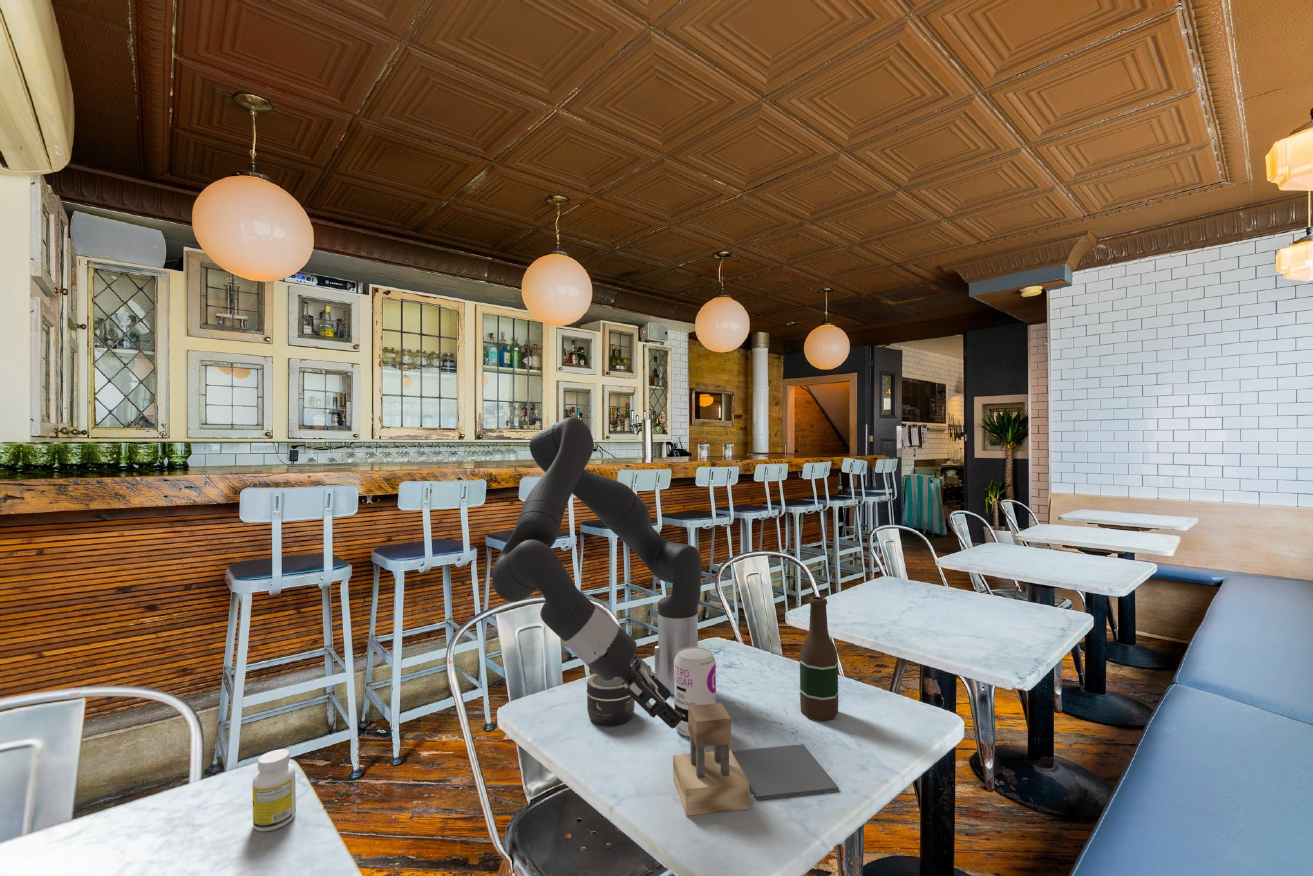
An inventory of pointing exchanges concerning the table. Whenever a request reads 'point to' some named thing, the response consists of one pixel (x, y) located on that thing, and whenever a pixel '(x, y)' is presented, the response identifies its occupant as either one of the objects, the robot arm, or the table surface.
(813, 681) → the beer bottle
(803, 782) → the mat
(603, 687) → the jar
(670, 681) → the robot arm
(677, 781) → the step
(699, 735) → the stool
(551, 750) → the table surface
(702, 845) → the table surface
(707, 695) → the supplement can
